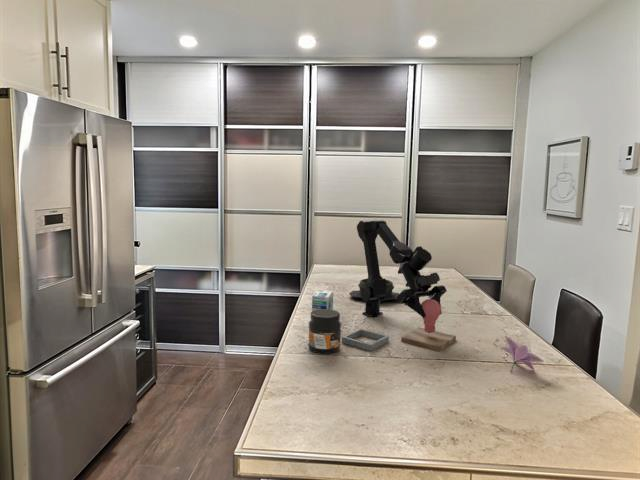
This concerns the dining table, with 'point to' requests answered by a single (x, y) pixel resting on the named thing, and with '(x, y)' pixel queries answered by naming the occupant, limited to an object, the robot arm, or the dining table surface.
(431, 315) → the light bulb
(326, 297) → the light bulb box
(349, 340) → the holder frame
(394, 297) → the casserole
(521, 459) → the dining table surface
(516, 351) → the lily
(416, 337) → the walnut board
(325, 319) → the supplement container
